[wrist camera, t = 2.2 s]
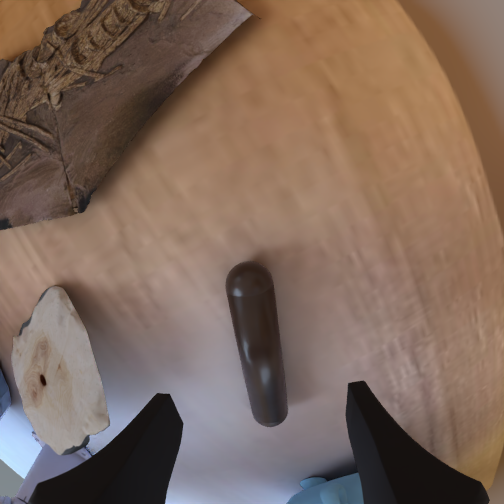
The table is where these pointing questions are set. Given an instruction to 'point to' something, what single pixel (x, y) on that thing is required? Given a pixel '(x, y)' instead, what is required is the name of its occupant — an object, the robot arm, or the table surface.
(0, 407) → the bowl
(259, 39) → the table surface
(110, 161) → the brown flat piece
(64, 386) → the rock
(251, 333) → the stick
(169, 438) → the robot arm
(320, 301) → the table surface
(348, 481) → the teapot
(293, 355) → the table surface
